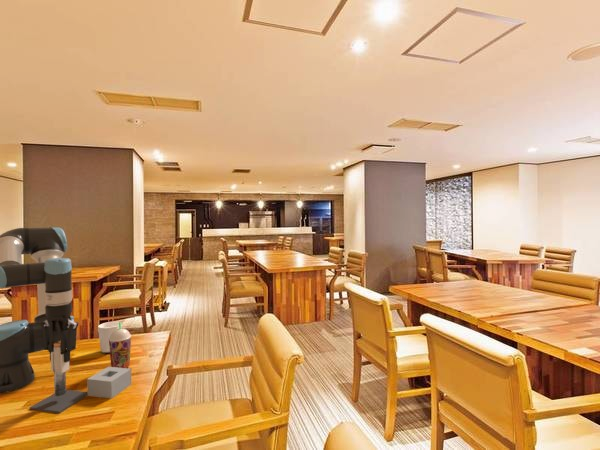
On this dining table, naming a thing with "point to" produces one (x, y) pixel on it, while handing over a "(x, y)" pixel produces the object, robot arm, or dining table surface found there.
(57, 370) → the peg
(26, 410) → the dining table surface
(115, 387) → the eye block
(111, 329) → the cup
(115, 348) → the smoothie
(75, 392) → the mat
